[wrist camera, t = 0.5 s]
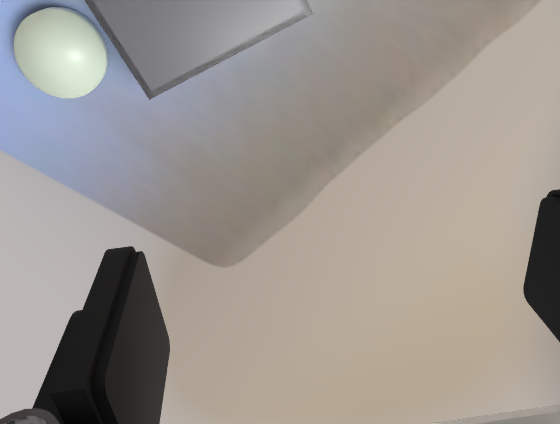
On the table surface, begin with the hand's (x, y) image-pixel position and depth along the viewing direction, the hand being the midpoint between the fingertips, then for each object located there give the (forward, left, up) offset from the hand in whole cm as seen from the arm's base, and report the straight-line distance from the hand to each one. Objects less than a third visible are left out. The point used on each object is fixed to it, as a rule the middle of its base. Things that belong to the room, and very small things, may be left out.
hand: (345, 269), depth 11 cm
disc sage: (-6, -16, -34) cm, 38 cm away
